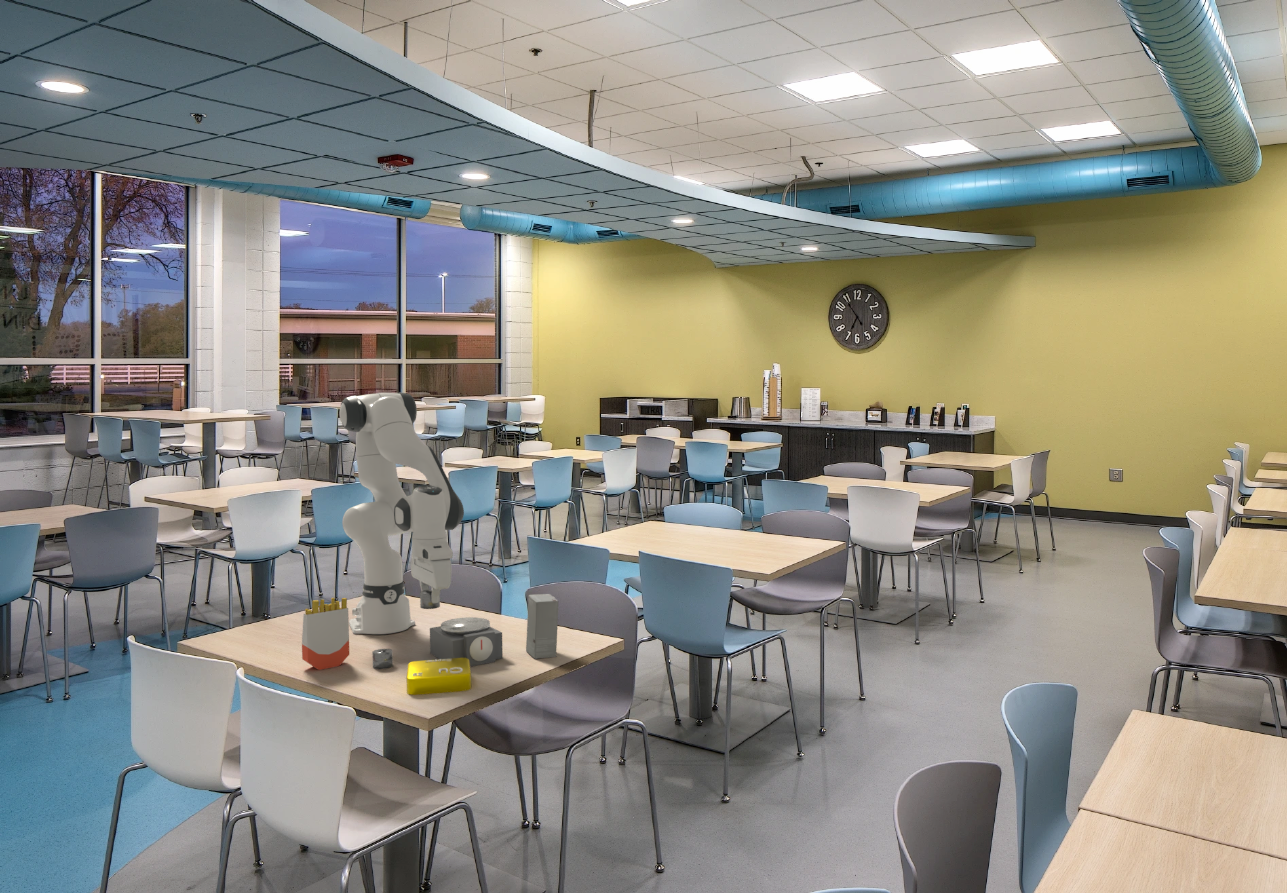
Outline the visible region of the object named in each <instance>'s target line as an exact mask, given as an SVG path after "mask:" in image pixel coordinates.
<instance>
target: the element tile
mask: <svg viewBox="0 0 1287 893" xmlns="http://www.w3.org/2000/svg"><path fill="white" fill-rule="evenodd" d="M471 689H472V672H471V666H470V663H469V659H467V658H452V659H439V658H436V659H427V660H414V661H410V662H409V663H407V671H406V694H407V695H411V696H418V695H419V696H420V695H432V694H443V693H445V694H447V693H457V692H466V691H469V690H471Z"/></svg>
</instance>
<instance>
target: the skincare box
mask: <svg viewBox="0 0 1287 893" xmlns="http://www.w3.org/2000/svg"><path fill="white" fill-rule="evenodd" d="M527 596H528V602H527V621H526V622H527V623H526V624H527V626H526V642H525V643H526V644H525V651H526V652H527V653H528V655H530V656H531V657H532V658H534V659H535V660H536V659H537V660H538V659H546V658H556V657H557V649H558V648H557V646H558V645H557V644H558V643H557V641H558V624H559V623H558V620H559V600H558V599H556V597H555V596H553V595H552V594H551V593H542V594H540V593H539V594H538V593H537V594H536V593H535V594H529V595H527Z"/></svg>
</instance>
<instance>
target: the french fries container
mask: <svg viewBox="0 0 1287 893" xmlns="http://www.w3.org/2000/svg"><path fill="white" fill-rule="evenodd" d="M330 600H331V601H330V603H329V604H327V603H325V599H320V601H319V600H318V599H316V600H312V601H311V602H312V604H311V609H309V608H305V611H304V612H305V613H303V616H302V634H301V636H302V637H301V653H302V654H301V656H302V657H301V658H302V661H305V662H306V663H307V664H309V665H310V666H312V668H315V669H317V670H319V671H320V670H325V669H326V670H327V669H331V668H335V667H340V666H341V665H342V664H343V662H344V661H345V660H346V659H347V658H348V657H349V656H350V628H349V627H350V624H349V620H350V619H349V608H348V607H347V606H348V603H347V602H348V598H347V597H343V598H341V606H340V601H339V600H335V597H331V599H330Z"/></svg>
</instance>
